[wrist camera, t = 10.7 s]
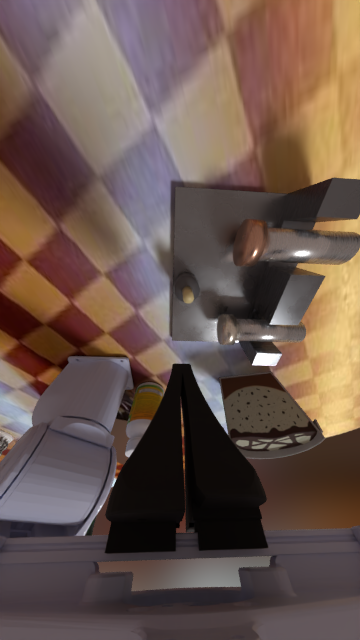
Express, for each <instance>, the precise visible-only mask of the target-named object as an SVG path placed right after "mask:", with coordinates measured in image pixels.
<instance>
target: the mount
mask: <svg viewBox="0 0 360 640" xmlns="http://www.w3.org/2000/svg"><path fill="white" fill-rule="evenodd" d="M359 215H360V180H357V179H343V178H331V179H328V180H325V181H323V182H320V183H317V184H314V185H311V186H309V187H306V188H303V189H300V190H297V191H294V192H292V193H289V194H281V193H265V192H250V191H234V190H219V189H203V188H188V187H175V229H174V274H173V319H172V340H173V341H211V342H219V341H218V338H217V322H218V318H219V316H220V315H221V314H232V315H234V316H235V318H236V319H256V320H266V321H267V322H268V323H269V324H272V325H299V323H300V321H301V319H302V317H303V316H304V314H305V312H306V310H307V308H308V307H309V305H310V303H311V301H312V299H313V298H314V296H315V294H316V292H317V290H318V289H319V287H320V285H321V283H322V281H323V280H324V278H325V276H323V275H320V274H316V273H313V272H310V271H306V270H303V269H299V268H296V266H297V264H298V263H287V262H265V261H258V262H257V263H256V264H255V265H254V266H251V267H246V266H236V265H235V264H234V262H233V246H234V241H235V237H236V234H237V231H238V229H239V227H240V225H241V224H242V222H243V221H244V220H245V219H259V220H265V221H266V223H267V227H268V228H286V229H303V230H312V229H313V227H314V225H315V223H316V222H325V221H338V220H351V219H357V218H358V217H359ZM182 273H191V274H193V275H194V276H195V277H196V279H197V282H198V284H199V287H200V293H199V296H198V297H197V298H196V299H195V300H194V301H193V302H192V303H185V302H182V301H180V300H179V299H178V298H177V297H176V295H175V281H176V278H177V277H178V276H179V275H180V274H182ZM235 342H239V343H240V345H241V347H242V348H243V350H244V352H245V354H246V356H247V357H248V359H249V361H250V363H251V364H252V365H261V366H276V364H277V362H278V361H279V359H280V357H281V355H282V353H281V352H280V351H279V350H278V348H277V347H276V346H275V345H274V344H273V343H272V342H264V341H235Z"/></svg>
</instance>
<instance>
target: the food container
mask: <svg viewBox="0 0 360 640" xmlns="http://www.w3.org/2000/svg"><path fill="white" fill-rule="evenodd" d="M219 380H220V386H221V393H222V399H223V405H224V411H225V417H226V423H227V429H228V436H229V437H230V439H231V440H232V441H233V443H234V444H235V445H236V447H237V448H238V449H239V450H240V452H241V453H242V454H243V455H244V457H246V458H254V459H271V458H279V457H285V456H290V455H294V454H297V453H300V452H303V451H306V450H308V449H311V448H313V447H315V446H316V445H318V444H320V443H321V442H322V441H323V440H324V439H325V437H324V436H323V434H322V433H323V431H322V429H321V427H320V426H319V424H318V422H317V420H316V419H315V420H314V421H313V422H312V421H311V419H310V418H309V417H308V416H307V415H306V413H305V412H304V411H303V410H302V408H301V407H300V406H299V405H298V404H297V402H296V401H295V400H294V399H293V398H292V396H291V395H290V394H289V393H288V391H287V390H286V389H285V388H284V387H283V385H282V384H281V383H280V382H279V380H278V379H277V378H276V377H275V376H274V374H273V373H272V372H262V373H254V374H245V375H236V376H228V377H219ZM223 429H224V428H223Z"/></svg>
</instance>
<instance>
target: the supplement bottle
mask: <svg viewBox="0 0 360 640" xmlns="http://www.w3.org/2000/svg"><path fill="white" fill-rule="evenodd" d="M163 396H164V389H163V388H162V386H160V385H159V384H157V383H153V382H146V383H142V384H140V385H139V386H138V387H137V389H136V393H135V397H134V400H133V404H132V408H131V412H130V416H129V420H128V423H127V427H126V434H127V436H128V437H129V438H130V439H129V440H128V443H127V446H126V452H125V455H126V456H127V457H130V455H131V454H132V452H133V451H134V449H135V448H136V446H137V444H138V443H139V441H140V440H141V438H142V436H143V435H144V433H145V431H146V430H147V428H148V426H149V424H150V422H151V421H152V419H153V417H154V415H155V413H156V411H157V409H158V407H159V405H160V403H161V400H162V398H163Z"/></svg>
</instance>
